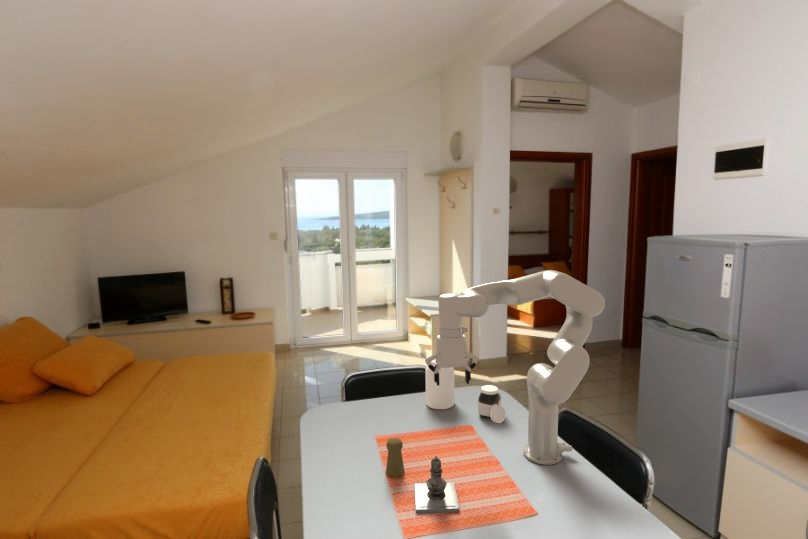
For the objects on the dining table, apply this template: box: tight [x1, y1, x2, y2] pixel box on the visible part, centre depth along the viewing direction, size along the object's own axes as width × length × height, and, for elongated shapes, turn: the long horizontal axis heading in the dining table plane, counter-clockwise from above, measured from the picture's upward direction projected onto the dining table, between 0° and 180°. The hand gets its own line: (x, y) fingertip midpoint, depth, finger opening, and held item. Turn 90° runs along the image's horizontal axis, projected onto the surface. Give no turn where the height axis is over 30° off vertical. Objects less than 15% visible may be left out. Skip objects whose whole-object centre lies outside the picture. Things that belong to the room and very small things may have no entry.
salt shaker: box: [425, 455, 447, 501], centre depth 129 cm, size 6×6×12 cm
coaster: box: [414, 482, 460, 514], centre depth 130 cm, size 12×12×1 cm
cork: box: [385, 437, 405, 479], centre depth 143 cm, size 6×6×11 cm
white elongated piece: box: [424, 359, 456, 410], centre depth 193 cm, size 12×12×20 cm
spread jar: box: [477, 384, 507, 424], centre depth 180 cm, size 12×11×12 cm
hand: (452, 383), depth 146 cm, fingers open, 9 cm apart
